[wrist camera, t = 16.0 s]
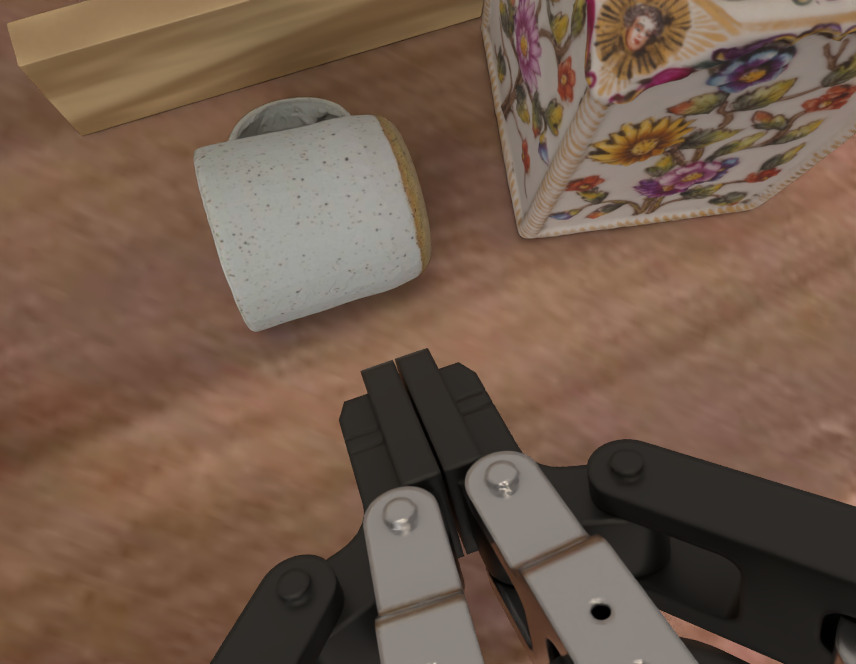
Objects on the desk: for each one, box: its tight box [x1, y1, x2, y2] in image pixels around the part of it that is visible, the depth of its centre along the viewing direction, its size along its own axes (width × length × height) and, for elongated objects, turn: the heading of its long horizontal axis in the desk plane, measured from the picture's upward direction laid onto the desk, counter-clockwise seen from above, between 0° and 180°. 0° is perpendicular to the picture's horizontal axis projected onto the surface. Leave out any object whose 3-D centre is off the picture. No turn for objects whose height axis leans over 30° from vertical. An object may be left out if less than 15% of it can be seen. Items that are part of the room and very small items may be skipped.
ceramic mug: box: [194, 97, 431, 332], centre depth 31 cm, size 11×8×8 cm
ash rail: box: [7, 0, 484, 136], centre depth 33 cm, size 2×20×6 cm, turn 110°
